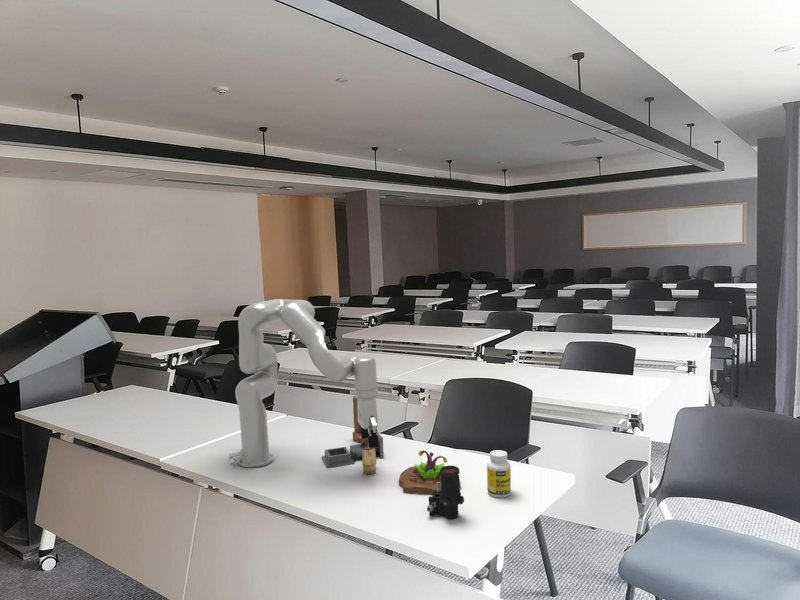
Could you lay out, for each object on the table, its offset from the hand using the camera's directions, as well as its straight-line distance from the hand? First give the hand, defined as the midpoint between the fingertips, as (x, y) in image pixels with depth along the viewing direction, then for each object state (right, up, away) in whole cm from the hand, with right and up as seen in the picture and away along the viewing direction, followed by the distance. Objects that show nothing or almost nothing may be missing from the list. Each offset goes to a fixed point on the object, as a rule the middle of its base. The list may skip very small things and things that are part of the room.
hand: (369, 442), depth 195 cm
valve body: (-7, -10, +15) cm, 19 cm away
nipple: (0, -11, +1) cm, 11 cm away
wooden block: (-4, -8, +32) cm, 33 cm away
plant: (+20, -12, -8) cm, 24 cm away
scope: (+24, -13, -31) cm, 41 cm away
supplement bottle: (+41, -11, -18) cm, 46 cm away
